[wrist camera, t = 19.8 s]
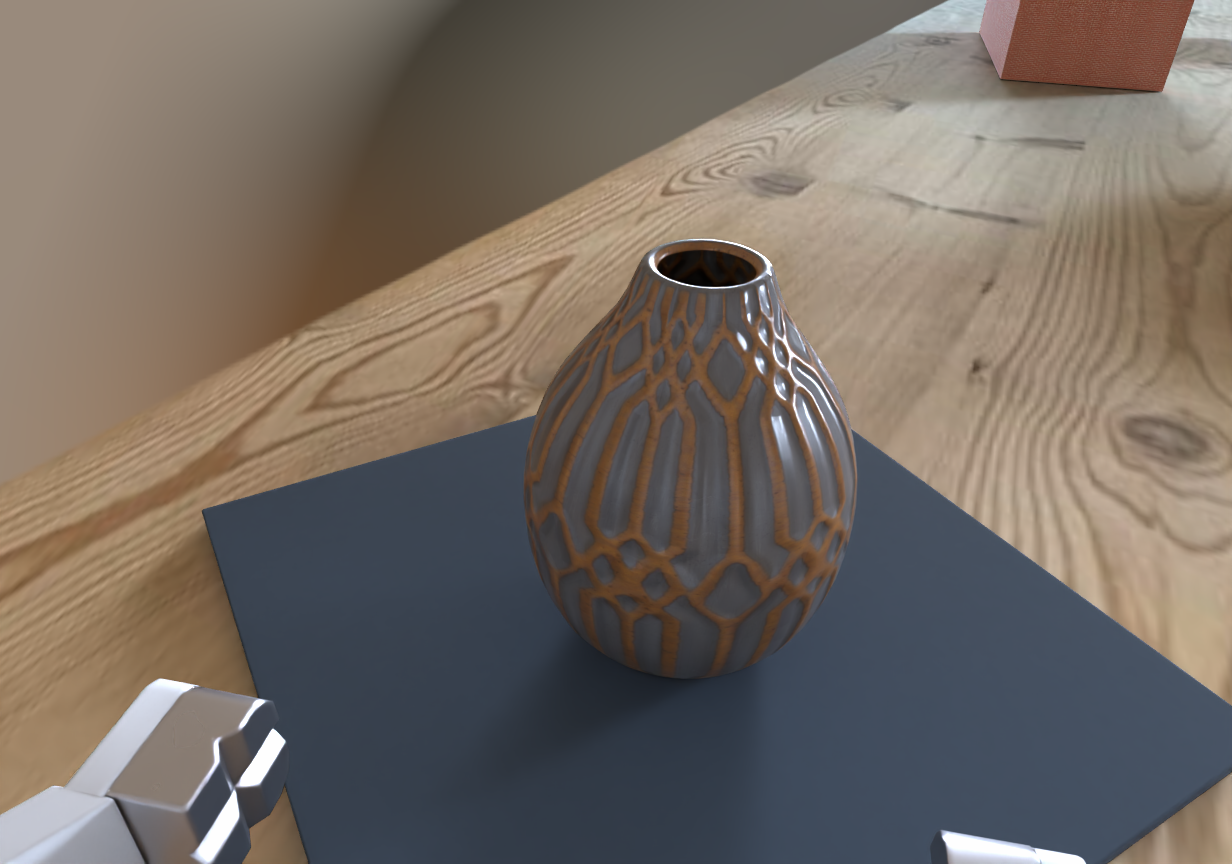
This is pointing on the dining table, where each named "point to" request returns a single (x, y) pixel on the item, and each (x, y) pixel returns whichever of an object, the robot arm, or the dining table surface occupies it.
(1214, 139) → the dining table surface
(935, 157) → the dining table surface
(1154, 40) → the house
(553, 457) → the vase
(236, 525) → the mat
